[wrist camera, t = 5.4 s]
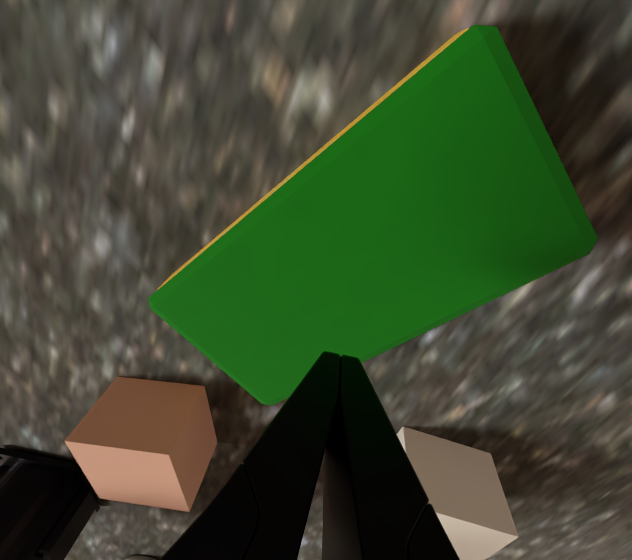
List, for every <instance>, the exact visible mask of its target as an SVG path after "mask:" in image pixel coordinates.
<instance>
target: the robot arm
mask: <svg viewBox="0 0 632 560" xmlns="http://www.w3.org/2000/svg"><path fill="white" fill-rule="evenodd" d="M324 452H325V454H324ZM323 456H324V491H323V537H322V560H460V558H459V557H458V555H457V553H456V551H455V549H454V547H453V545H452V543H451V541H450V540H449V538H448V536H447V534H446V532H445V530H444V528H443V526H442V524H441V522H440V520H439V518H438V516H437V514H436V512H435V510H434V508H433V506H432V504H430V503H429V504H428V502H429V498H428V496H427V494H426V492H425V490H424V488H423V486H422V484H421V482H420V480H419V478H418V476H417V474H416V472H415V470H414V468H413V466H412V464H411V462H410V460H409V458H408V456H407V454H406V452H405V450H404V448H403V446H402V444H401V442H400V440H399V438H398V436H397V434H396V432H395V430H394V428H393V426H392V424H391V422H390V420H389V418H388V416H387V414H386V412H385V410H384V408H383V406H382V404H381V402H380V400H379V398H378V396H377V394H376V392H375V390H374V388H373V386H372V384H371V382H370V380H369V378H368V376H367V374H366V372H365V370H364V368H363V366H362V364H361V362H360V360H359V359H358V358H357V357H353V356H348V355H342V356H341V357H340V355H339V354H338V353H333V352H328V351H324V352H323V353H322V354H321V355H320V356H319V358H318V359H317V360H316V362H315V363H314V364H313V366H312V367H311V368H310V370H309V371H308V373H307V374H306V375H305V377H304V378H303V379H302V381H301V382H300V383H299V385H298V386H297V387H296V389H295V390H294V391H293V393H292V394H291V396H290V397H289V398H288V400H287V401H286V402H285V404H284V405H283V406H282V408H281V409H280V410H279V412H278V413H277V414H276V416H275V417H274V419H273V420H272V421H271V423H270V424H269V425H268V427H267V428H266V429H265V431H264V432H263V433H262V435H261V436H260V437H259V439H258V440H257V442H256V443H255V444H254V446H253V447H252V448H251V450H250V451H249V452H248V454H247V455H246V456H245V458H244V459H243V461H242V464H239V465H238V467H237V468H236V470H235V471H234V472H233V474H232V475H231V476H230V478H229V479H228V480H227V482H226V483H225V484H224V485H223V487H222V488H221V489H220V491H219V492H218V493H217V494H216V496H215V497H214V498H213V499H212V501H211V502H210V503H209V505H208V506H207V507H206V508H205V509H204V510H203V512H202V513H201V514H200V515H199V516H198V517H197V518H196V520H195V521H194V522H193V523H192V524H191V525H190V526H189V528H188V529H187V530H186V531H185V532H184V533H183V534H182V536H181V537H180V538H179V539H178V540H177V541H176V542H175V543H174V544H173V545H172V546H171V547H170V549H169V550H168V551H167V552H166V553H165V554H164V555H163V556H162V557H161V558H160V559H159V560H297V557H298V553H299V549H300V545H301V542H302V538H303V534H304V530H305V526H306V522H307V518H308V514H309V510H310V506H311V503H312V499H313V495H314V491H315V487H316V483H317V479H318V475H319V471H320V467H321V464H322V460H323ZM99 509H100V506H99V503H98V501H97V498H96V495H95V493H94V490H93V488H92V485H91V484H90V482H89V480H88V479H87V477H86V475H85V474H84V472H83V471H82V469H81V467H80V466H79V464H75V463H71V462H66V461H61V460H57V459H52V458H47V457H42V456H38V455H33V454H28V453H24V452H19V451H14V450H10V449H5V448H0V560H64V559H65V557H66V556H67V554H68V552H69V551H70V549H71V547H72V546H73V544H74V543H75V541H76V539H77V538H78V536H79V535H80V533H81V531H82V530H83V528H84V527H85V525H86V523H87V522H88V520H89V519H90V517H91V515H92V514H97V512H98V510H99Z"/></svg>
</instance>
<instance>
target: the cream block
mask: <svg viewBox="0 0 632 560" xmlns="http://www.w3.org/2000/svg"><path fill="white" fill-rule="evenodd" d="M397 436H398V438H399V440H400V442H401V444H402V446H403V448H404V450H405V452H406V454H407V456H408V458H409V460H410V462H411V464H412V466H413V468H414V470H415V472H416V474H417V476H418V478H419V480H420V482H421V484H422V486H423V488H424V490H425V492H426V494H427V496H428V498H429V502H428V504H429V503H430V504H432V506H433V508H434V510H435V512H436V514H437V516H438V518H439V520H440V522H441V524H442V526H443V528H444V530H445V532H446V534H447V536H448V538H449V540H450V541H451V543H452V545H453V547H454V549H455V551H456V553H457V555H458V557H459V558H460V560H485V559H487V558H488V557H490V556H491V555H493V554H494V553H496V552H497V551H499V550H500V549H502V548H503V547H505V546H506V545H508V544H509V543H511V542H512V541H514V540H515V539H516V538H518V534H517V531H516V528H515V525H514V522H513V519H512V516H511V513H510V510H509V507H508V504H507V501H506V498H505V495H504V492H503V489H502V486H501V483H500V480H499V477H498V474H497V471H496V468H495V465H494V462H493V459H492V456H491V453H488V452H484V451H481V450H478V449H475V448H471V447H468V446H465V445H462V444H459V443H455V442H452V441H449V440H446V439H442V438H439V437H436V436H433V435H429V434H426V433H423V432H420V431H417V430H413V429H410V428H407V427H404V426H403V427H402V428H401V430H400V431H399V432H398V434H397Z"/></svg>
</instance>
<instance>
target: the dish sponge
mask: <svg viewBox="0 0 632 560" xmlns="http://www.w3.org/2000/svg"><path fill="white" fill-rule="evenodd" d="M597 240H598V237H597V235H596V233H595V231H594V229H593V227H592V225H591V223H590V221H589V218H588V216H587V214H586V212H585V210H584V208H583V206H582V204H581V202H580V200H579V198H578V195H577V193H576V191H575V189H574V187H573V185H572V183H571V181H570V179H569V177H568V175H567V172H566V170H565V168H564V166H563V164H562V162H561V160H560V158H559V156H558V154H557V152H556V149H555V147H554V145H553V143H552V141H551V139H550V137H549V135H548V133H547V131H546V129H545V126H544V124H543V122H542V120H541V118H540V116H539V114H538V112H537V110H536V108H535V106H534V104H533V101H532V99H531V97H530V95H529V93H528V91H527V89H526V87H525V85H524V83H523V81H522V78H521V76H520V74H519V72H518V70H517V68H516V66H515V64H514V62H513V60H512V58H511V55H510V53H509V51H508V49H507V47H506V45H505V43H504V41H503V39H502V37H501V35H500V32H499V30H498V28H497V27H494V26H484V25H473V26H471V27H470V28H467V29H465V30H463V31H461V32H459V33H457V34H455V35H454V36H453V37H452V38H451V39H449V40H448V41H447V42H446V43H445V44H443V45H442V46H441V47H440V48H439V49H438V50H436V51H435V52H434V53H433V54H432V55H430V56H429V57H428V58H427V59H426V60H425V61H423V62H422V63H421V64H420V65H419V66H418V67H416V68H415V69H414V70H413V71H412V72H410V73H409V74H408V75H407V76H406V77H405V78H403V79H402V80H401V81H400V82H399V83H397V84H396V85H395V86H394V87H393V88H392V89H390V90H389V91H388V92H387V93H386V94H384V95H383V96H382V97H381V98H380V99H379V100H377V101H376V102H375V103H374V104H373V105H371V106H370V107H369V108H368V109H367V110H366V111H364V112H363V113H362V114H361V115H360V116H358V117H357V118H356V119H355V120H354V121H353V122H351V123H350V124H349V125H348V126H347V127H345V128H344V129H343V130H342V131H341V132H340V133H338V134H337V135H336V136H335V137H334V138H333V139H331V140H330V141H329V142H328V143H327V144H325V145H324V146H323V147H322V148H321V149H320V150H318V151H317V152H316V153H315V154H314V155H312V156H311V157H310V158H309V159H308V160H307V161H305V162H304V163H303V164H302V165H301V166H299V167H298V168H297V169H296V170H295V171H294V172H292V173H291V174H290V175H289V176H288V177H286V178H285V179H284V180H283V181H282V182H281V183H279V184H278V185H277V186H276V187H275V188H273V189H272V190H271V191H270V192H269V193H268V194H266V195H265V196H264V197H263V198H262V199H260V200H259V201H258V202H257V203H256V204H255V205H253V206H252V207H251V208H250V209H249V210H248V211H246V212H245V213H244V214H243V215H242V216H240V217H239V218H238V219H237V220H236V221H235V222H233V223H232V224H231V225H230V226H229V227H227V228H226V229H225V230H224V231H223V232H222V233H220V234H219V235H218V236H217V237H216V238H214V239H213V240H212V241H211V242H210V243H209V244H207V245H206V246H205V247H204V248H203V249H201V250H200V251H199V252H198V253H197V254H196V255H194V256H193V257H192V258H191V259H190V260H188V261H187V262H186V263H185V264H184V265H183V266H181V267H180V268H179V269H178V270H177V271H175V272H174V273H173V274H172V275H171V276H170V277H169V278H168V279H167V280H166V281H165V282H164V283H163V284H162V285H161V286H160V287H159V288H158V289H157V291H156V292H154V293H153V294H152V295H151V296H150V297H149V298H148V299H149V304H150V309H151V310H153V311H154V312H155V313H156V314H157V315H159V316H160V317H161V318H162V319H163V320H164V321H166V322H167V323H168V324H169V325H170V326H171V327H173V328H174V329H175V330H176V331H177V332H178V333H180V334H181V335H182V336H183V337H184V338H185V339H187V340H188V341H189V342H190V343H191V344H192V345H194V346H195V347H196V348H197V349H198V350H199V351H201V352H202V353H203V354H204V355H205V356H206V357H208V358H209V359H210V360H211V361H212V362H213V363H215V364H216V365H217V366H218V367H219V368H220V369H222V370H223V371H224V372H225V373H226V374H227V375H229V376H230V377H231V378H232V379H233V380H235V381H236V382H237V383H238V384H239V385H240V386H242V387H243V388H244V389H245V390H246V391H247V392H249V393H250V394H251V395H252V396H253V397H254V398H256V399H257V400H258V401H259V402H260V403H261V404H266V405H274V404H276V403H279V402H281V401H283V400H285V399H287V398H289V397H290V396H291V394H292V393H293V391H294V390H295V389H296V387H297V386H298V385H299V383H300V382H301V381H302V379H303V378H304V377H305V375H306V374H307V373H308V371H309V370H310V368H311V367H312V366H313V364H314V363H315V362H316V360H317V359H318V358H319V356H320V355H321V354H322V353H323V352H324V351H328V352H333V353H338V354H339V355H340V357H341V356H342V355H348V356H353V357H357V358H358V359H359V360H360V362H361V363H362V362H364V361H366V360H368V359H370V358H372V357H375V356H377V355H379V354H381V353H383V352H385V351H387V350H389V349H391V348H393V347H395V346H398V345H400V344H402V343H404V342H406V341H408V340H410V339H412V338H414V337H416V336H418V335H421V334H423V333H425V332H427V331H429V330H431V329H433V328H435V327H437V326H439V325H441V324H443V323H446V322H448V321H450V320H452V319H454V318H456V317H458V316H460V315H462V314H464V313H466V312H469V311H471V310H473V309H475V308H477V307H479V306H481V305H483V304H485V303H487V302H489V301H492V300H494V299H496V298H498V297H500V296H502V295H504V294H506V293H508V292H510V291H512V290H514V289H517V288H519V287H521V286H523V285H525V284H527V283H529V282H531V281H533V280H535V279H537V278H540V277H542V276H544V275H546V274H548V273H550V272H552V271H554V270H556V269H558V268H560V267H563V266H565V265H567V264H569V263H571V262H573V261H575V260H577V259H579V258H581V257H583V256H585V255H588V254H590V252H591V250H592V248H593V247H594V245H595V243H596V242H597Z"/></svg>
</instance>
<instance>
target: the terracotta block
mask: <svg viewBox="0 0 632 560" xmlns="http://www.w3.org/2000/svg"><path fill="white" fill-rule="evenodd" d="M65 443H66V445H67V446H68V448H69V449H70V451H71V453H72V454H73V456H74V458H75V459H76V461H77V462H78V464H79V466H80V467H81V469H82V471H83V472H84V474H85V475H86V477H87V479H88V480H89V482H90V484H91V485H92V487H93V488H94V490H95V492H96V493H97V495H98V497H99V498H100V499H107V500H114V501H120V502H127V503H134V504H140V505H147V506H154V507H160V508H167V509H174V510H180V511H187V512H190V510H191V507H192V505H193V502H194V500H195V497H196V495H197V492H198V490H199V487H200V485H201V482H202V480H203V477H204V475H205V472H206V470H207V468H208V465H209V463H210V460H211V458H212V455H213V453H214V450H215V448H216V445H217V438H216V434H215V430H214V425H213V421H212V417H211V412H210V408H209V403H208V399H207V395H206V390H205V386H199V385H190V384H181V383H172V382H163V381H153V380H144V379H135V378H126V377H117V378H116V379H115V380H114V381H113V383H112V384H111V385H110V386H109V388H108V389H107V390H106V391H105V392H104V394H103V395H102V396H101V397H100V398H99V400H98V401H97V402H96V403H95V404H94V406H93V407H92V408H91V409H90V411H89V412H88V413H87V414H86V415H85V417H84V418H83V419H82V420H81V421H80V423H79V424H78V425H77V426H76V428H75V429H74V430H73V431H72V432H71V434H70V435H69V436H68V437H67V438H66V440H65Z"/></svg>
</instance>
